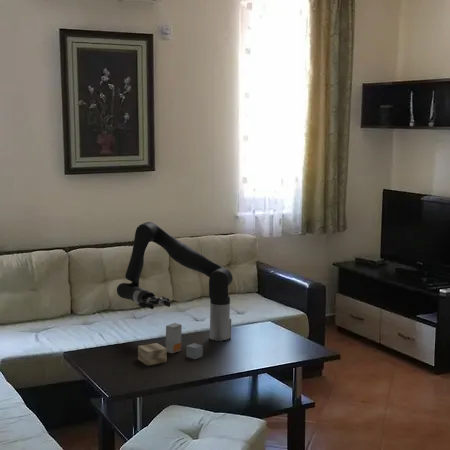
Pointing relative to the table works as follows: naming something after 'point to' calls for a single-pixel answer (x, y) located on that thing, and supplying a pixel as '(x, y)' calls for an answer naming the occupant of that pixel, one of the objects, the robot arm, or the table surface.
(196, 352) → the slate block
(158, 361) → the beech block
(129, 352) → the table surface
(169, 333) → the skincare box
